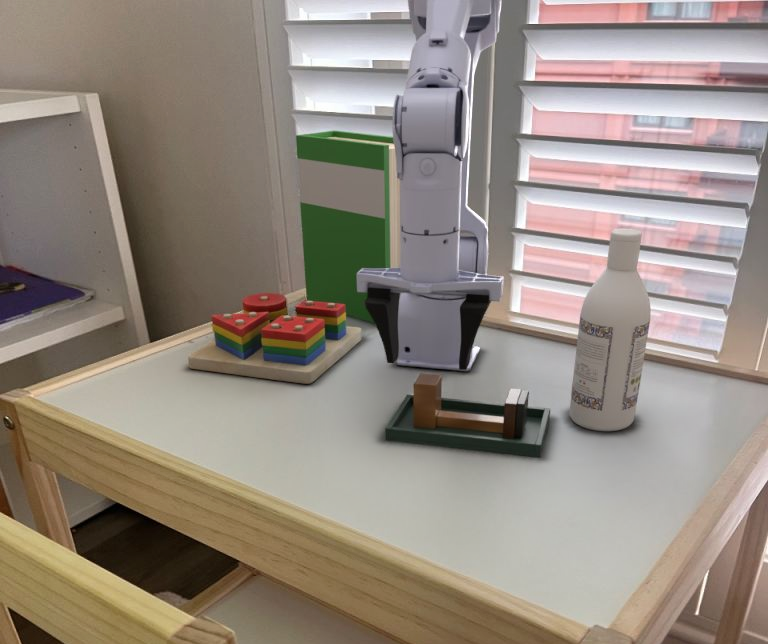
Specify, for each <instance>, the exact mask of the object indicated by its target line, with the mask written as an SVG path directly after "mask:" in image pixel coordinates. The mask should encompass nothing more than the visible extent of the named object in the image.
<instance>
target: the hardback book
mask: <svg viewBox="0 0 768 644" xmlns="http://www.w3.org/2000/svg"><path fill="white" fill-rule="evenodd" d="M295 144H296V156H297V157H296V160H297V174H298V176H297V177H298V188H299V189H298V191H299V205H300V207H299V208H300V222H301V234H302V237H301V238H302V251H303V252H302V253H303V266H304V267H303V268H304V281H305V283H304V284H305V296H306V301H316V302H327V303H338V304H345V306H346V311H345V312H346V316H350V317H353V318H356V319H360V320H361V321H362V320H363V321H366V322H369V323H372V324H375V323H374V321H373V319H372V317H371V315H370V314H369V312H368V311H367V309H366V306H365V300H366V298H367V294H368V292H366V293H364V292H357V274H356V273H358V272H359V271H360V270H361V269H362V268H374V269H376V268H400V179H399V178H397V173H396V153H395V147H394V141H393V136H390V135H382V134H372V133H362V132H353V131H352V132H350V131H343V130H327V131H319V132H312V133H303V134H296V135H295ZM401 294H402V293H400V297H401ZM399 301H400V298H399Z"/></svg>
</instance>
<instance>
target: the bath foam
mask: <svg viewBox="0 0 768 644" xmlns="http://www.w3.org/2000/svg"><path fill="white" fill-rule="evenodd" d="M642 237H643V233H642V231H641V230H639V229H635V228H628V227H627V228H625V227H624V228H623V227H622V228H621V227H620V228H615V229H612V230H611V232H610V238H609V244H608V250H607V251H608V252H607V260H606V267H605V269H604V270H603V271H602V273H601V274H600V275H599V277H598V278H597V279H596V280H595V281H594V283H593V284H592V286H591V287H590V288H589V290H588V291H587V293H586V295H585V298H584V299H583V303H582V305H581V310H580V314H579V322H578V332H577V339H576V348H575V357H574V358H575V359H574V365H573V367H574V368H573V377H572V385H571V393H570V404H569V416H570V418H571V420H572V422H574V423H575V424H576V425H578V426H580V427H582V428H584V429H587V430H592V431H596V432H597V431H598V432H614V431H615V432H617V431H620V430H625V429H626V428H628V427H629V426H631V425H632V424H633V422H634V421H635V415H636V409H637V403H638V398H639V392H640V385H641V380H642V373H643V367H644V360H645V354H646V349H647V343H648V337H649V336H648V335H649V330H650V323H651V314H652V313H651V301H650V296H649V293H648V291H647V288H646V285H645V284H644V281H643V279H642V277H641V275H640V273H639V272H638V263H639V257H640V251H641V250H640V249H641V243H642Z"/></svg>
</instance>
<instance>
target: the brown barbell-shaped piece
mask: <svg viewBox="0 0 768 644" xmlns="http://www.w3.org/2000/svg"><path fill="white" fill-rule="evenodd" d="M442 385H443V375H442V374H434V373H433V374H432V373H423V372H421V373H419V374H418V376H417V377H416V379H415V381H414V382H413V395H414V412H413V426H414V427H422V428H431V429H435V428H436V426H440V427H449V428H459V429H468V430H478V431H487V432H496V433H503V436H502V438H504V439H514V437H515V436H519V437H522V435H523V432H524V428H525V425H526V420H527V408H528V406H529V396H530V391H529V390H522V389H519V388H509V391H508V394H507V396H506V398H505V401H504V404H505V407H504V417H499V416H489V415H479V414H469V413H459V412H450V411H441V398H442V388H443V387H442Z"/></svg>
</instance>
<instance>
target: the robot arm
mask: <svg viewBox="0 0 768 644" xmlns="http://www.w3.org/2000/svg"><path fill="white" fill-rule="evenodd" d="M502 2H503V1H502V0H407V8H408V12H409V14H410V20H411V26H412V27H411V28H412V33H413V34H414V36H415V43H414V44H413V47H412V49H411V53H410V59H409V65H408V70H407V75H406V76H407V77H406V81H405V87H404V91H403V94H396V95H395V97H394V102H393V108H392V110H393V111H392V137H393V141H394V147H395V153H396V173H397V178H399V179H400V268H376V269H374V268H362V269H361V270H360V271H359V272H358V273H356V274H357V292H364V293H366V292H368V294H367V298H366V300H365V306H366V309H367V311H368V312H369V314H370V315H371V317H372V319H373V321H374V323H373V324H374V325H375V327H376V329H377V331H378V334H379V336H380V339H381V342H382V345H383V349H384V354H385V357H386V363H387V364H394V363H395V362H396V365H397V366H402V367H403V366H405V367H415V368H427V369H439V370H448V371H450V370H451V371H460V372H461V371H462V372H469V371H470V370H471V368H472V366H473V364H474V363H475V361H476V359H477V356H478V355H479V353H480V350H481V348H480V347H479V346H477V345H476V346H475V345H474V343H475V340H476V337H477V333H478V332H479V328H480V326H481V323H482V322H483V320H484V317H485V315H486V313H487V311H488V308H489V306H490V305H491V303H492V302H498V303H499V302H500V301H501V300H502V299H503V295H504V281H505V277H504V276H501V275H492V274H488V263H489V262H488V260H489V240H488V239H489V227H488V225H487V223H486V221H485V220H484V219H483V218H482V217H481V216H479V214H477V212H475V211H474V210H472V209H471V208H470V207H469V206H468V197H469V195H468V194H469V177H470V176H469V175H470V158H471V157H470V155H471V137H472V117H473V100H474V83H475V82H474V78H475V74H476V73H475V72H476V69H477V65H478V62H479V59H480V56H481V53H482V52H483V51H484V50H486V49H487V48H489V47H491V46H492V45H494V44H496V42H497V34H499V32H500V19H501V11H502V10H501V9H502ZM461 233H462V234H463V233H465V234H472V235H473V236H470V235H469V236H467V235H460V234H461ZM400 293H402V294H401V297H400ZM399 298H400V301H399Z"/></svg>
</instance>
